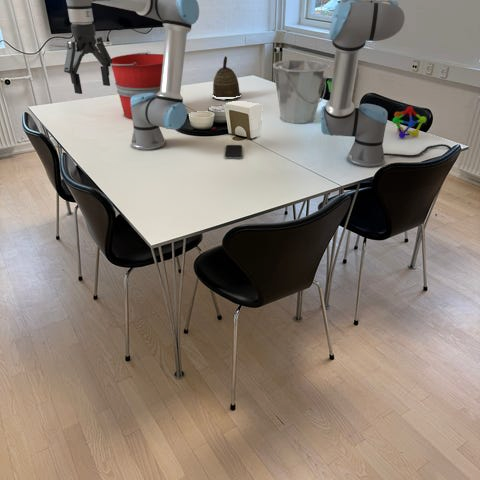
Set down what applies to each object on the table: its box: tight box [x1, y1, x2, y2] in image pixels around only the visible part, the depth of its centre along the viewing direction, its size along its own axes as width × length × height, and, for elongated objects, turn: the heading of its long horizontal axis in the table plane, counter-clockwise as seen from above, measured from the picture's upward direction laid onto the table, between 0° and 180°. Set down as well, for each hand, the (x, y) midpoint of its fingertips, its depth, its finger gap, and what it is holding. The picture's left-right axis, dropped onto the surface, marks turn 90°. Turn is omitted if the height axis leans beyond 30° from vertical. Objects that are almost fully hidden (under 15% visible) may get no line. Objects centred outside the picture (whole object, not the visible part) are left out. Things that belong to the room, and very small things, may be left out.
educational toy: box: [392, 106, 427, 139], centre depth 214 cm, size 16×13×15 cm
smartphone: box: [224, 144, 243, 159], centre depth 199 cm, size 7×1×15 cm
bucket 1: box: [110, 51, 164, 120], centre depth 242 cm, size 35×35×30 cm
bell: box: [212, 56, 242, 97], centre depth 278 cm, size 19×26×20 cm
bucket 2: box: [272, 59, 331, 124], centre depth 236 cm, size 30×30×28 cm
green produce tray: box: [326, 78, 332, 93], centre depth 207 cm, size 11×9×11 cm
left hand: (93, 89), depth 157 cm, fingers open, 13 cm apart
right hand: (341, 85), depth 209 cm, fingers closed on green produce tray, 9 cm apart
